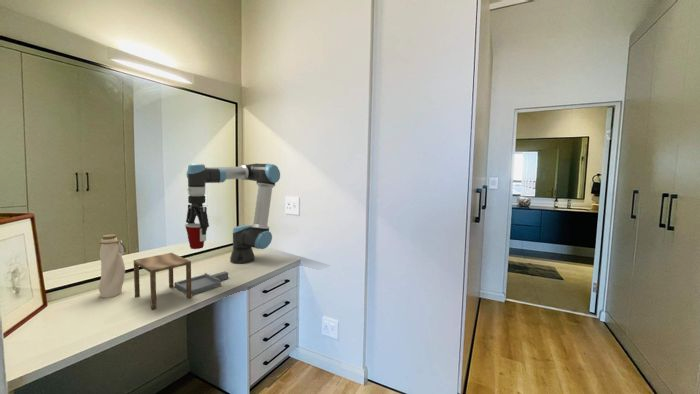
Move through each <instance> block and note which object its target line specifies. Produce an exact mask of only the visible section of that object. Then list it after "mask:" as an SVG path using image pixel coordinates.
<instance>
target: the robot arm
mask: <svg viewBox="0 0 700 394" xmlns="http://www.w3.org/2000/svg"><path fill="white" fill-rule="evenodd" d="M185 175H186V178H187V186H188V187H187V193H188V194H187V195H188V197H187V199H188V200H187V201H188V202H187V203H188V204H187V211H186V212H187V213H186V219H185V224H193V223H196V222H195V221H196V218H197V219H198V223H199V224H200V226H201V227H200V241H204V242H205V241H207V231H206V228H207V227H208V228H209V227H210V223H209V218H208V213H207V209H208V208H207V206H204V205H203V204H205V203H206V196H205V195H206V184H215V183H216V184H221V183H224V182H226V180H239V179H240V180H242V181H253V182H256V185H257V195H256V202H255V208H254V216H253V223H252V224H248V225H247V224H243V225H239V226H238V225H237V226H235V227H233V228H232V229H233V230H232V252H231V254H230V257H229V261H230V263H231V264H237V265H242V264H243V265H245V264H249V263H252V262H254V261H255V260H256V259H255V253H254V250H253V249H254V248H255V249H257V250H258V249H259V250H264V249H267V248H268V247H269V246H270V244H271V243H272V240H273V235H272V233H271V231H270V226H269V224H268V223H269V216H270V207H271V200H272V193H273V188H274V187H275V186H276V183H278V182H279V181H280V179H281V171H280V169H279V167H278V166H277V165H276V164H273V163H250V164H249V163H248V164H241V165H239V166H213V167H212V166H211V167H210V166H209V167H208V166H207V167H206V165H205V164H204V163H203V164H202V163H201V164H200V163H189V164H188V166H187V170H186V173H185ZM206 224H207V225H206ZM208 228H207V229H208Z"/></svg>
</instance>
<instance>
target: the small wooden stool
mask: <svg viewBox="0 0 700 394" xmlns="http://www.w3.org/2000/svg"><path fill="white" fill-rule="evenodd" d="M184 266H185V273H186V274H185V278H186V279H185V280H186V292H187V294H186V299H191V298H192V295H191V278H192V261H191V260H188V259H187V258H184V257H182V256H180V255H177V254H175V253H174V252H168V253H163V254H159V255H153V256H149V257H143V258H138V259H133V279H134V281H133V282H134V284H133V285H134V297H135V298H139V297H141V293H140V292H141V291H140V287H141V285H140V267H141V268H142V269H144V270H145V271H147V272H149V279H150V280H149V281H150V282H149V283H150V288H149V289H150V310H151V311H154V310H157V307H158V306H157V277H156V275H157V274H156V273H158V272H163V271H166V270H168V287H169V288H170V289H171V288H175V283H174V269H175V268H179V267H184Z"/></svg>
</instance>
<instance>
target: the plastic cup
mask: <svg viewBox="0 0 700 394" xmlns="http://www.w3.org/2000/svg"><path fill="white" fill-rule="evenodd" d="M206 225H207V224H206ZM184 227H185V230H186V233H187V238H188V242H189V248H190V249H191V250H199V249H203V248H204V245H205V241H200V227H201V226H200V223H199V222H198V223H197V222H195V223H193V224H188V223H185V224H184ZM208 229H209V227H207V228H206V232H207V231H208Z"/></svg>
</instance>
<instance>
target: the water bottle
mask: <svg viewBox="0 0 700 394" xmlns="http://www.w3.org/2000/svg"><path fill="white" fill-rule="evenodd" d="M98 244H99V245H101V246H100V249H99V259H100V266H101V267H100V281H99V283H98V291H99V295H100V297H101V298H112V297H116V296H119V295H121V294H122V292H123V285H124V282H125V277H126V276H125V274H126V267H125V262H124V259H123V257H122V256H123V255H124V253H126V252H127V251H126V250H127V248H126V246H125V244H123V241H122V239H120V240H119V239H118V238H117V235H116V234H113V233H112V234H104V235H102V236H101V239H100V240H99V242H98Z"/></svg>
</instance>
